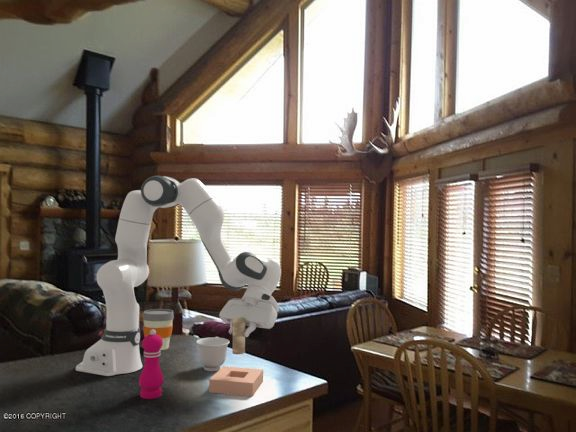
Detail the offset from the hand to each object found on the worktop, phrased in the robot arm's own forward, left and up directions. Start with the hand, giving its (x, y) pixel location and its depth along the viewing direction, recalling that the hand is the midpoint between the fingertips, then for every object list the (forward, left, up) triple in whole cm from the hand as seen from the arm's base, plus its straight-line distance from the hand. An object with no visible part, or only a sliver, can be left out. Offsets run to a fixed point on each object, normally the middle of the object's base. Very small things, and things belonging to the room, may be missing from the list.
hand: (237, 334), depth 155 cm
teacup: (-14, +17, -17) cm, 28 cm away
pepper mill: (-23, -14, -17) cm, 32 cm away
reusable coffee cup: (-45, +37, -17) cm, 61 cm away
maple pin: (0, +1, -6) cm, 6 cm away
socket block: (0, 0, -17) cm, 17 cm away
